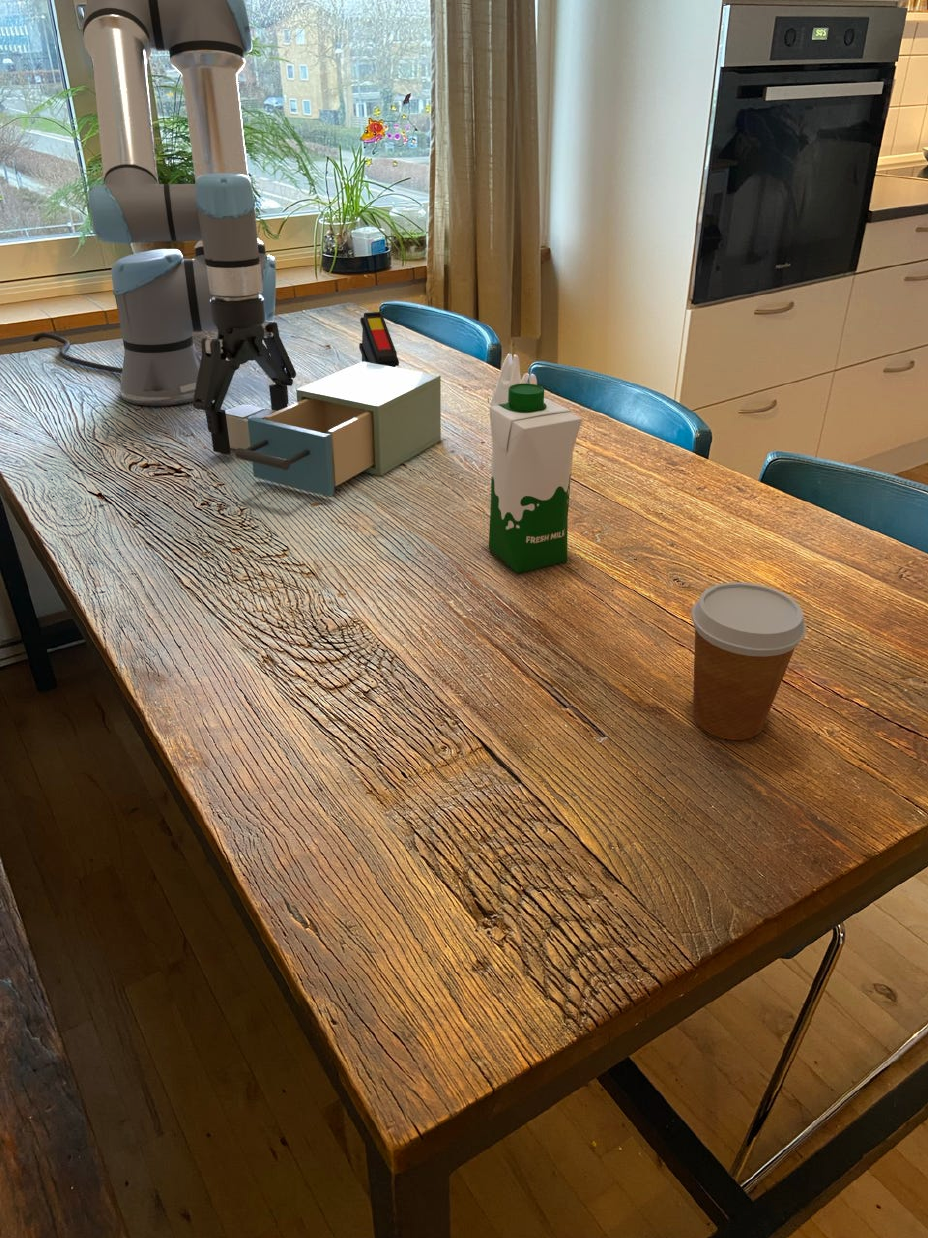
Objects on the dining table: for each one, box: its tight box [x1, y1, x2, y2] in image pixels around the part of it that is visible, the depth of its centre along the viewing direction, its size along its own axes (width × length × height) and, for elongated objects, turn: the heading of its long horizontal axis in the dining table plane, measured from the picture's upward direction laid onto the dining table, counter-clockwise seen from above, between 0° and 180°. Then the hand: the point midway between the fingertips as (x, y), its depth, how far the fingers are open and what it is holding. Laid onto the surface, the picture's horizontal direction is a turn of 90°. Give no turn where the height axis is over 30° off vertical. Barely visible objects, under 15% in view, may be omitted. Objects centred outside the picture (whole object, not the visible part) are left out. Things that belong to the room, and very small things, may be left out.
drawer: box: [234, 398, 375, 497], centre depth 127 cm, size 21×13×8 cm, turn 150°
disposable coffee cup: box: [691, 581, 807, 741], centre depth 81 cm, size 10×10×12 cm
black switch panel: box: [358, 311, 400, 367], centre depth 155 cm, size 4×13×15 cm, turn 19°
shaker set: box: [489, 353, 538, 407], centre depth 147 cm, size 12×4×11 cm, turn 22°
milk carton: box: [488, 383, 583, 574], centre depth 106 cm, size 9×9×20 cm
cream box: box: [225, 403, 277, 450], centre depth 140 cm, size 8×6×5 cm
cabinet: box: [295, 361, 442, 477], centre depth 138 cm, size 17×14×10 cm
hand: (252, 439), depth 140 cm, fingers open, 13 cm apart
